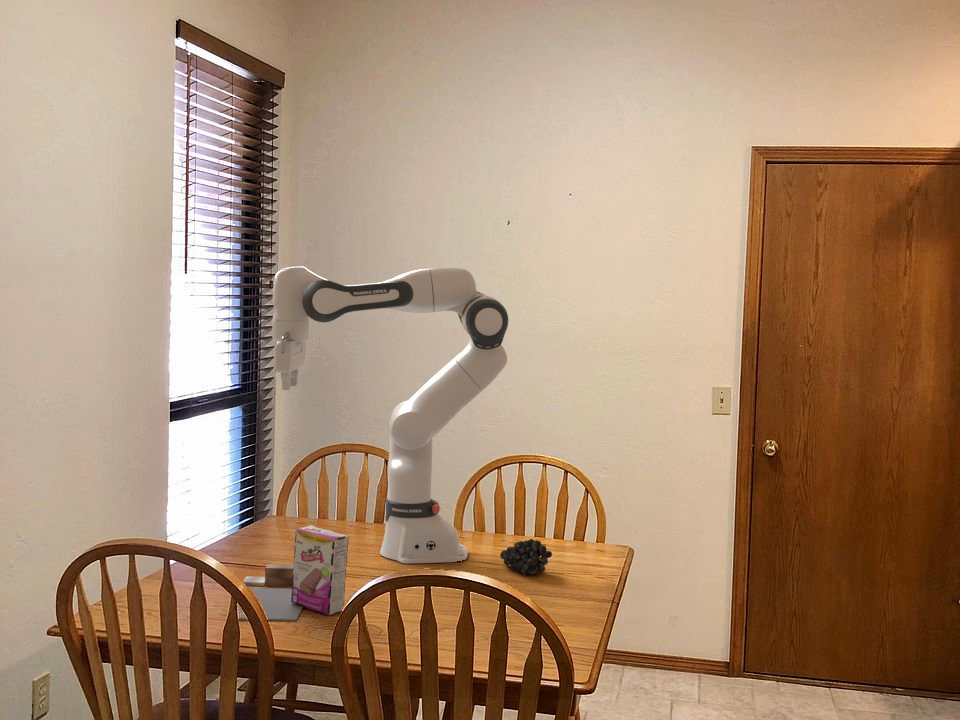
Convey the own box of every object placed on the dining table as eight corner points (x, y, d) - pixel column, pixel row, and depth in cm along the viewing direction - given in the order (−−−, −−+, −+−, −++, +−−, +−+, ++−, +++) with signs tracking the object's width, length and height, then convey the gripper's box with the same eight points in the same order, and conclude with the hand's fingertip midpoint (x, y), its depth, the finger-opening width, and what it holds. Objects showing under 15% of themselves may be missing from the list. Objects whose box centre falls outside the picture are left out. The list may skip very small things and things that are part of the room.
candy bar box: (289, 603, 210) (294, 528, 209) (305, 598, 214) (310, 524, 213) (328, 616, 204) (334, 539, 202) (344, 611, 208) (350, 534, 207)
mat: (311, 590, 221) (311, 588, 221) (296, 621, 201) (296, 619, 201) (248, 589, 220) (248, 587, 220) (227, 619, 200) (227, 617, 200)
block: (302, 581, 228) (303, 564, 228) (299, 586, 223) (300, 569, 223) (246, 579, 228) (246, 562, 227) (242, 585, 223) (242, 568, 223)
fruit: (496, 528, 245) (537, 540, 234) (519, 534, 250) (561, 546, 239) (487, 563, 244) (528, 576, 233) (510, 568, 249) (552, 581, 238)
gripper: (296, 334, 233) (295, 392, 234) (309, 330, 254) (309, 384, 255) (269, 333, 233) (268, 392, 234) (285, 329, 254) (284, 383, 255)
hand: (289, 387), depth 245 cm, fingers open, 8 cm apart
